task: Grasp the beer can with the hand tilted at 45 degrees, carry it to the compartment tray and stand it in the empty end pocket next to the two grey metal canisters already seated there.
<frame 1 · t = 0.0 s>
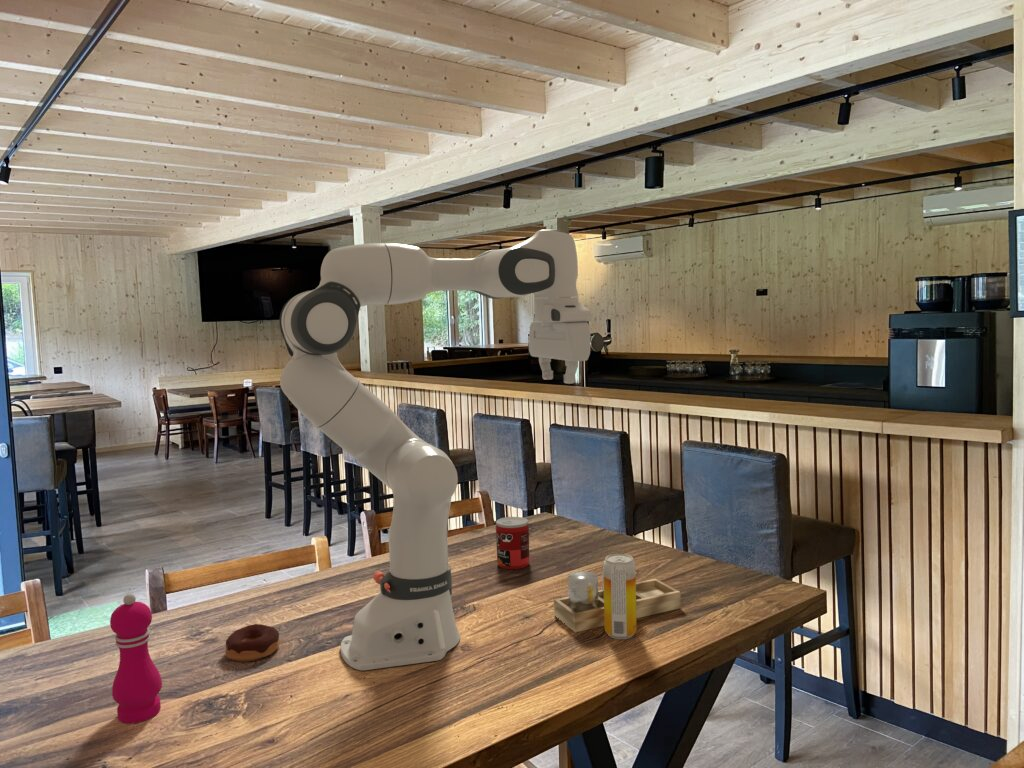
hand: (558, 381, 155), 48 cm above the table, tool pointing down, fingers open, 8 cm apart
canned food: (513, 565, 189), on the table
donut: (253, 653, 146), on the table
beer can: (620, 634, 148), on the table
seated canisters: (600, 589, 156), point 6 cm above the table
compartment tray: (617, 612, 158), on the table
pepper mill: (139, 714, 124), on the table
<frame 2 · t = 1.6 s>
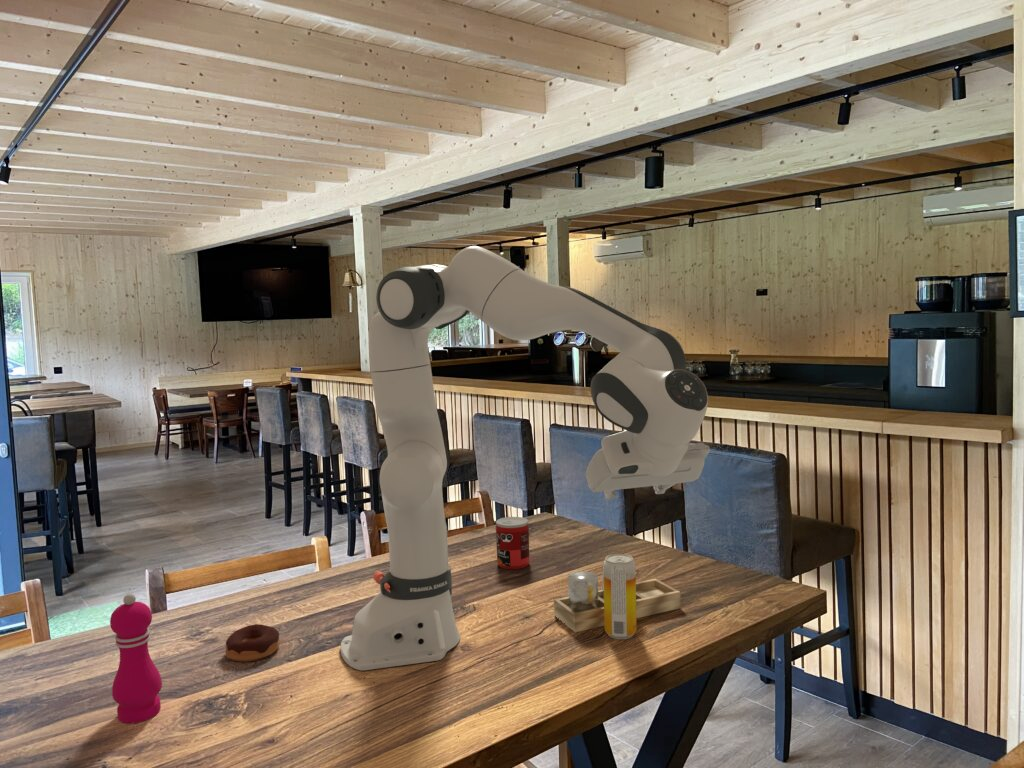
hand: (633, 493, 137), 30 cm above the table, tool tilted 45°, fingers open, 8 cm apart
nothing on the table moved.
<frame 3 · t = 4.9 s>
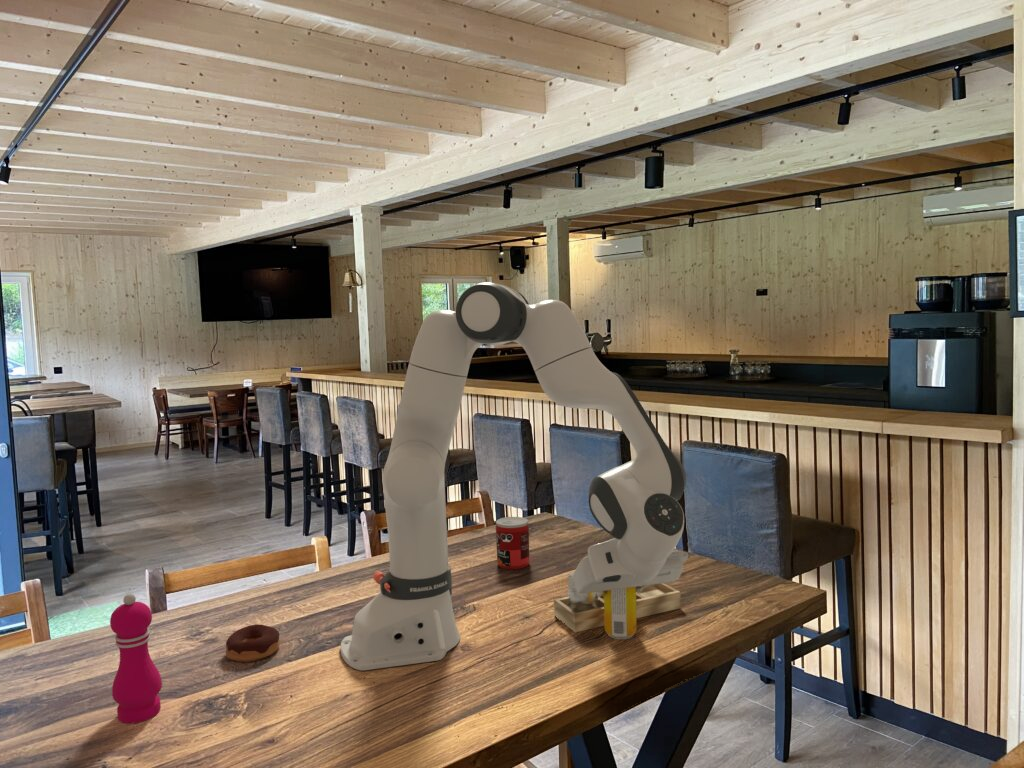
hand: (618, 590, 148), 8 cm above the table, tool tilted 45°, fingers closed on beer can, 6 cm apart
beer can: (620, 634, 148), on the table, touching gripper
everything else where it was.
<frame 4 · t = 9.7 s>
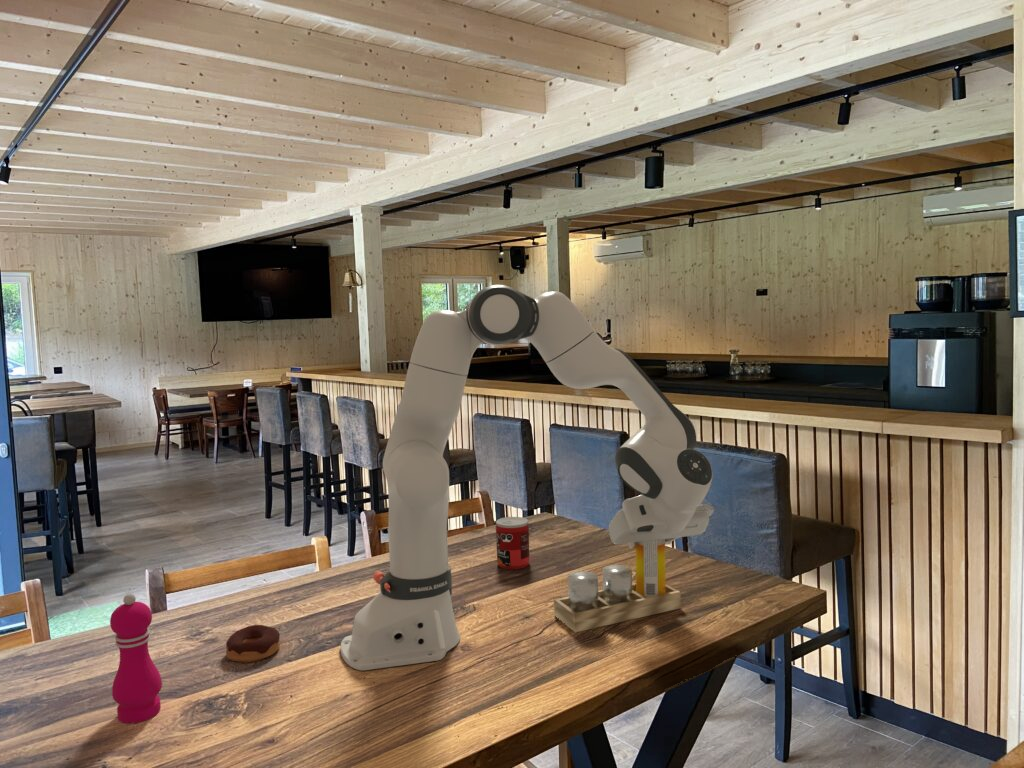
hand: (648, 543, 161), 13 cm above the table, tool tilted 45°, fingers closed on beer can, 6 cm apart
beer can: (650, 596, 161), point 2 cm above the table, touching gripper, compartment tray
everything else where it was.
when the fingers open (13 cm above the table, at t = 9.7 s): beer can stays where it is, resting on compartment tray.
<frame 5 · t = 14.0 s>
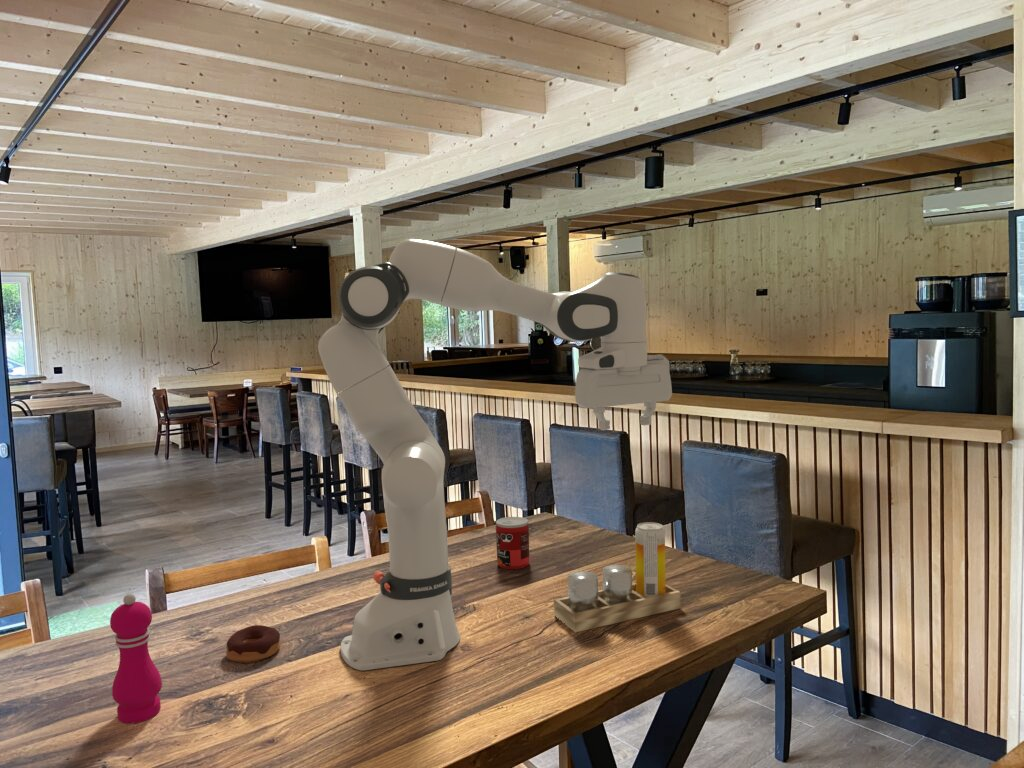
hand: (625, 427, 150), 39 cm above the table, tool pointing down, fingers open, 8 cm apart
beer can: (650, 596, 161), point 2 cm above the table, touching compartment tray
everything else where it was.
at the end: beer can 0.1 cm from the target spot, point 1.8 cm above the table; beer can tilted 0°; the gripper is holding nothing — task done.
